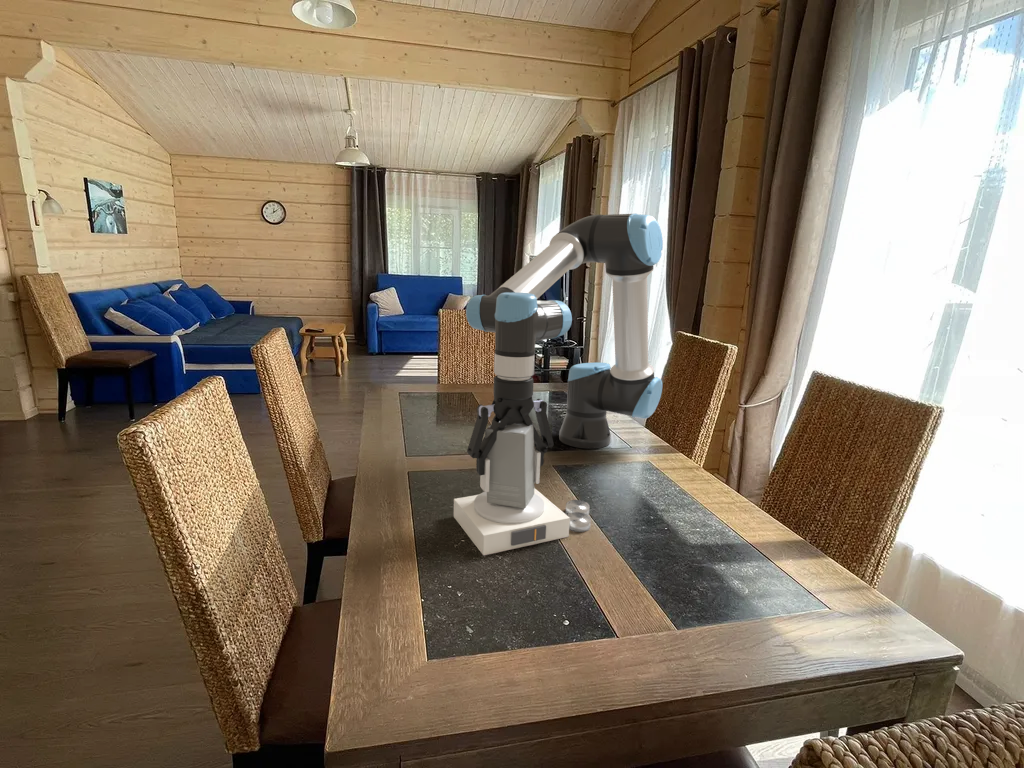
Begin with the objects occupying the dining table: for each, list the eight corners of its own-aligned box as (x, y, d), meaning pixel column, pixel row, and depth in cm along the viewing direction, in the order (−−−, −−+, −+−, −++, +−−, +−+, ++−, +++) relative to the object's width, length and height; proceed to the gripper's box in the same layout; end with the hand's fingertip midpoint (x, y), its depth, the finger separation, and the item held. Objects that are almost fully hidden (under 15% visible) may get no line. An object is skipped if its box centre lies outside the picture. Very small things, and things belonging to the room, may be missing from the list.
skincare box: (534, 496, 111) (538, 422, 107) (523, 511, 104) (527, 433, 100) (495, 489, 113) (497, 416, 109) (482, 504, 107) (484, 427, 103)
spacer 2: (581, 519, 114) (582, 510, 113) (595, 530, 110) (595, 521, 109) (560, 523, 112) (561, 514, 111) (573, 535, 107) (574, 525, 107)
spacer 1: (580, 506, 120) (581, 498, 119) (593, 516, 115) (594, 508, 115) (561, 510, 117) (561, 502, 117) (573, 521, 113) (574, 512, 113)
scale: (530, 502, 120) (531, 481, 119) (570, 538, 106) (571, 514, 105) (453, 516, 113) (453, 494, 111) (484, 557, 98) (485, 532, 97)
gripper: (556, 368, 111) (550, 470, 116) (449, 375, 101) (449, 486, 106) (575, 376, 104) (569, 483, 109) (464, 384, 95) (462, 502, 100)
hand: (510, 485), depth 108 cm, fingers closed on skincare box, 10 cm apart
